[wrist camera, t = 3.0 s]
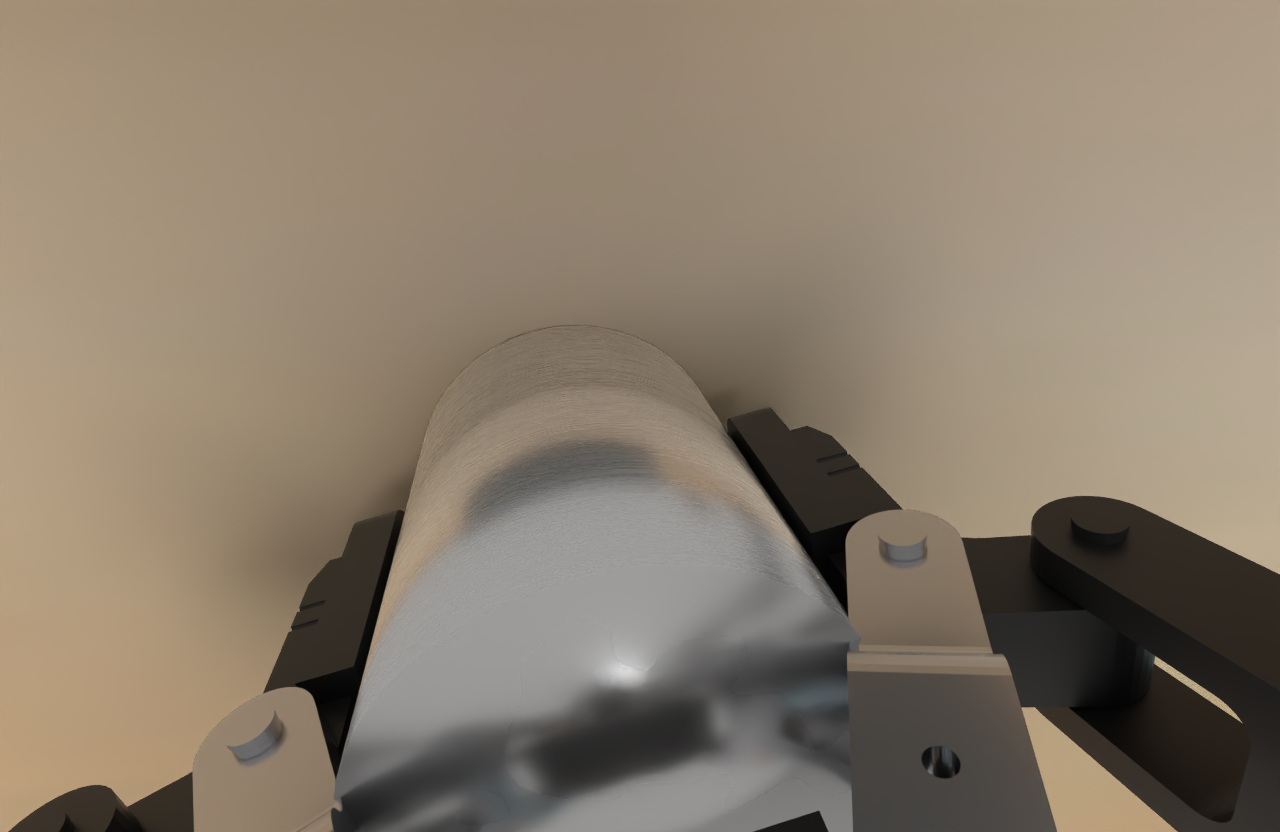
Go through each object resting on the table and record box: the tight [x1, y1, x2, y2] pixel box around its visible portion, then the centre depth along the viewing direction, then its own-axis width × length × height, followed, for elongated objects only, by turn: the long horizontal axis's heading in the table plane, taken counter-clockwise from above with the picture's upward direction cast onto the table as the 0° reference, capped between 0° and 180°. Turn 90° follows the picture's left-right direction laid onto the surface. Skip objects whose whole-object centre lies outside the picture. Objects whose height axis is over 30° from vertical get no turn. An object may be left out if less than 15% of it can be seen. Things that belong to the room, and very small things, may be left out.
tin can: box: [334, 325, 861, 832], centre depth 10 cm, size 6×6×7 cm
